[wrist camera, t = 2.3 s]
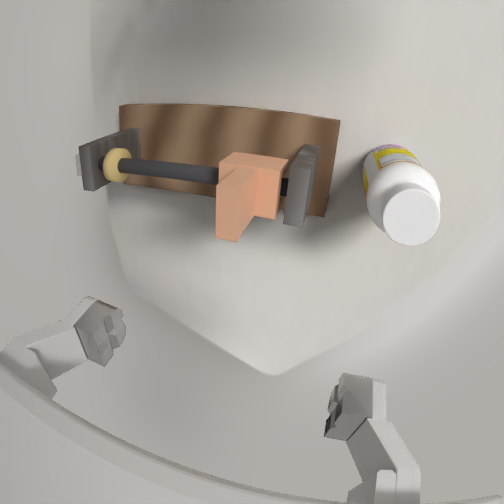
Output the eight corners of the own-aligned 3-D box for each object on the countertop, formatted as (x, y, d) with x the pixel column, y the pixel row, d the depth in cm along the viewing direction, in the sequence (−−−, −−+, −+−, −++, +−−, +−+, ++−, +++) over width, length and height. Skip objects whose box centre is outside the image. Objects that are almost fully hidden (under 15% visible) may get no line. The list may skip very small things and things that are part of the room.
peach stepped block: (288, 159, 27) (264, 191, 20) (283, 202, 29) (259, 248, 22) (234, 151, 28) (193, 180, 21) (232, 193, 30) (194, 234, 23)
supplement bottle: (393, 210, 34) (410, 272, 23) (350, 175, 33) (350, 224, 23) (430, 168, 30) (467, 215, 19) (385, 130, 29) (407, 157, 19)
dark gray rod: (305, 164, 27) (299, 176, 24) (300, 201, 29) (293, 217, 26) (92, 143, 32) (71, 152, 29) (94, 171, 34) (74, 182, 31)
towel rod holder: (340, 120, 30) (338, 136, 21) (325, 212, 36) (315, 261, 27) (126, 104, 36) (66, 120, 27) (130, 180, 42) (78, 212, 33)
